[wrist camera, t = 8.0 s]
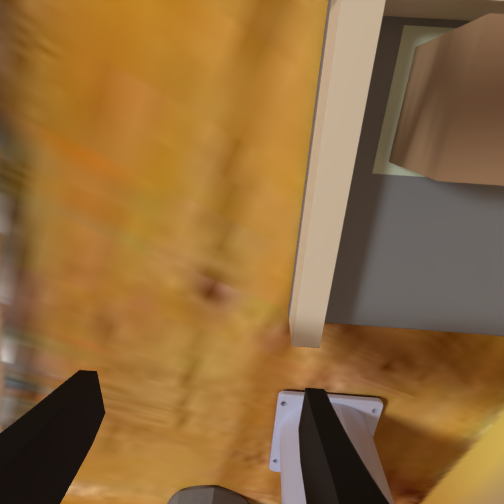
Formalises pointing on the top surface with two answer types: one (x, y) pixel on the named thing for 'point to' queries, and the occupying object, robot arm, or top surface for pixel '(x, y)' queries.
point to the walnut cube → (455, 106)
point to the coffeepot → (206, 496)
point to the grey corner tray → (389, 191)
